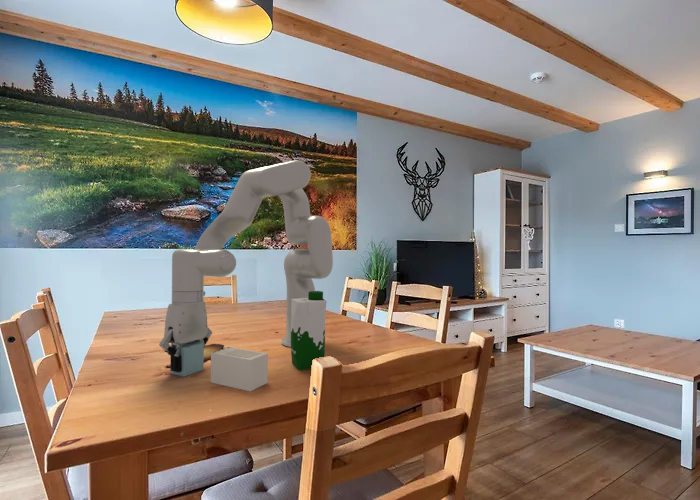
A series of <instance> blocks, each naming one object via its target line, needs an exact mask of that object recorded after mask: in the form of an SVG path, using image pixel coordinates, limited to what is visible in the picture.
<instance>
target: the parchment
mask: <svg viewBox="0 0 700 500" xmlns="http://www.w3.org/2000/svg"><path fill="white" fill-rule="evenodd" d="M224 346H225V345H224V344H221V343H210V344H205V348H204V363H205V362H208V361H211V353H212V352H214V351H218V350H222V349H223V348H224ZM166 368H169V366H168V365H166Z"/></svg>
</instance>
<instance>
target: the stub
mask: <svg viewBox="0 0 700 500" xmlns="http://www.w3.org/2000/svg"><path fill="white" fill-rule="evenodd" d="M176 347H177V345H176V346H175V350H176ZM179 356H181V357H182V367H181V372H174V371H171V364H169V365H170V366H169V368H170V370H169V371H170V374H171V375H172V374H173V375H175V376H180V377H186V376H189V375H193V374H194V373H198V372H200V371H203V370H205V369H204V367H205V366H204V364H205V362H204V343H202V342H195V341H193V342H189V343H185V344H183V345H182V348H181V352H180V355H179Z"/></svg>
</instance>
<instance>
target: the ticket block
mask: <svg viewBox="0 0 700 500" xmlns="http://www.w3.org/2000/svg"><path fill="white" fill-rule="evenodd" d="M268 355H269V353H268V352H262V351H261V352H260V351H255V350H250V349H249V350H248V349H243V348H239V347H238V348H237V347H231V346H228V347H225V348H224V347H223V348H222V349H221V350H218V351H214V352H212V353H211V360H210V383H212V384H216V385H220V386H224V387H230V388H234V389H238V390H243V391H247V392H252V391H254V390H256V389H258V388H261V387H263V386H264V385H266V384H268V377H269V375H268V369H269V367H268V362H269V357H268Z"/></svg>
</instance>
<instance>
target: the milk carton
mask: <svg viewBox="0 0 700 500" xmlns="http://www.w3.org/2000/svg"><path fill="white" fill-rule="evenodd" d="M308 297H309V298H300V299H291V347H290V351H291V352H290V353H291V363H292V364H293V365H294V366H295V368H296V369H297V370H298V371H304V370H312V369H311V365H312V360H313V359H315V358H319V357H324V356H325V354H326V311H327V300H326V299H324V292H323V291H321V290H315V291H310V292H309V295H308Z"/></svg>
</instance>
